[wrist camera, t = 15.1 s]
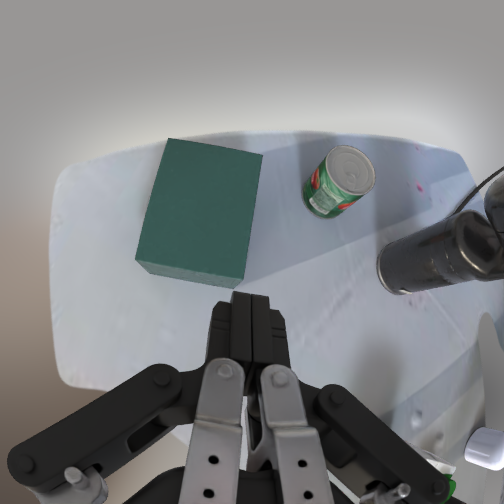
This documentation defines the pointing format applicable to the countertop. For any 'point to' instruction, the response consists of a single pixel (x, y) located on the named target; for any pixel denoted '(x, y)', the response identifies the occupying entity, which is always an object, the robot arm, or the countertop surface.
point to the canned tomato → (338, 182)
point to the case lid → (201, 209)
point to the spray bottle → (486, 448)
